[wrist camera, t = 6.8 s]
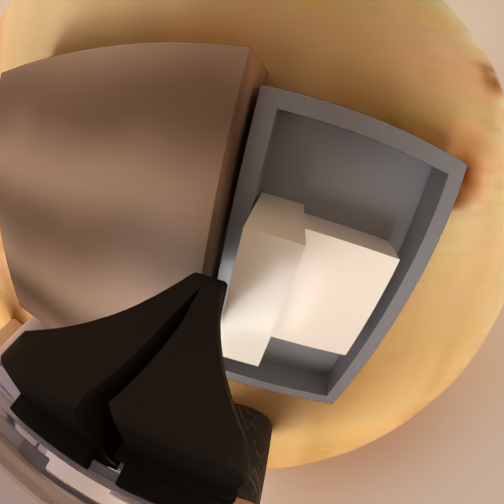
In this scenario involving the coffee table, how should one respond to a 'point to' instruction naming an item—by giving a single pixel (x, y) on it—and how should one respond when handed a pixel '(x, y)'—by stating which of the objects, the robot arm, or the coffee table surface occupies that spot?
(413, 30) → the coffee table surface
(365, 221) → the box
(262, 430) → the travel mug
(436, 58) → the coffee table surface
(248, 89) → the brown wooden block
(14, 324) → the candle
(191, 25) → the coffee table surface
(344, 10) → the coffee table surface
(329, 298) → the tile back
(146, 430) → the robot arm
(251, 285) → the tile front
